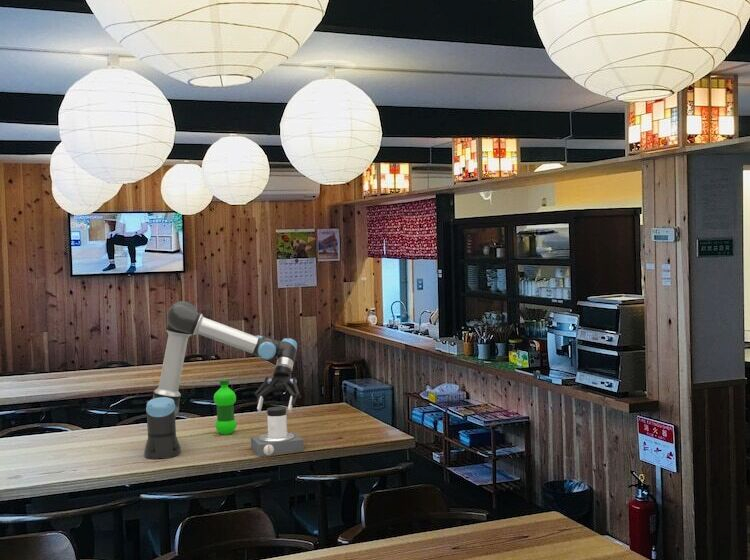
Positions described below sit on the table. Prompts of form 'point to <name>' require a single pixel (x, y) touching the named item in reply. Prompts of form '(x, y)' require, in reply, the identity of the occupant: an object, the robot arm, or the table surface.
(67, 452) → the table surface
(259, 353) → the robot arm
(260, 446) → the scale body
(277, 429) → the jar
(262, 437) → the scale pan
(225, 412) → the plastic bottle
